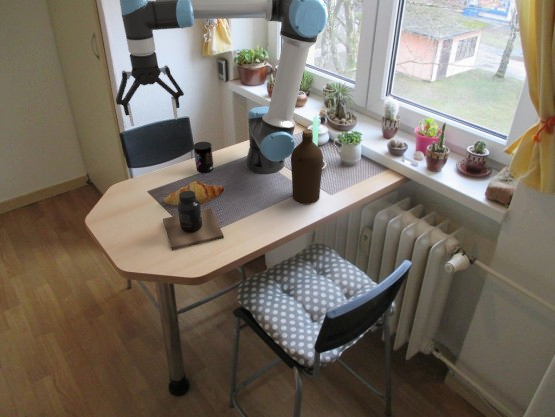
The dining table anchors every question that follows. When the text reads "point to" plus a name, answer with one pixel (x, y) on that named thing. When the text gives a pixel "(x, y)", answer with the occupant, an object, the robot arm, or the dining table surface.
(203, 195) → the croissant
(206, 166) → the supplement container
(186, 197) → the supplement bottle
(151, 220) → the dining table surface
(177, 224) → the brown cloth napkin
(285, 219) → the dining table surface
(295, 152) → the olive oil
